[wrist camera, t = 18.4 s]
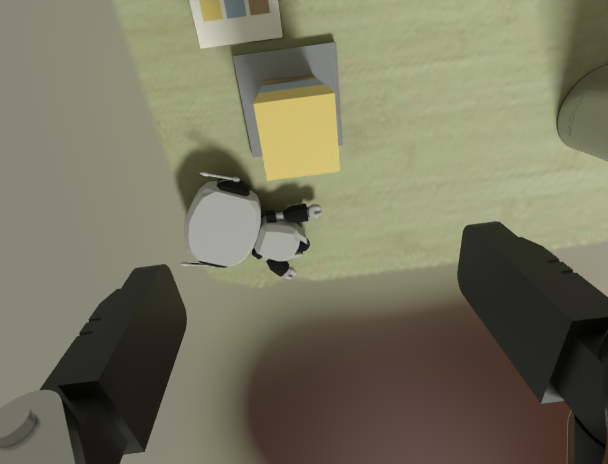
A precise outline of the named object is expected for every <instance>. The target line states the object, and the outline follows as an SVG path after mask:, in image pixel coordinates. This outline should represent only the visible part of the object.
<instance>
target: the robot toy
mask: <svg viewBox="0 0 608 464" xmlns="http://www.w3.org/2000/svg"><path fill="white" fill-rule="evenodd" d="M200 174H202V175H203V176H211V177H217V178H219V180H218V181H212V182H207V183H206V184H205V185H203V186H202V187H201V188H200V189H199V190H198V192H197V194H196V195H195V197H194V199H193V201H192V203H191V206H190V208H189V211H188V213H187V216H186V219H185V244H186V247H187V249H188V251H189V253H190V255H191V256H193V257H194V258H195V259H197V260H198V261H199V262H200V263H187V262H182V263H180V265H182V266H210V268H215V267H222V268H224V267H229V266H233V265H237V264H239V263H240V262H242V261H243V260H244V259H245V258H246V257H247V256H248V254H249V253H250V252H251V250H252V248H253V247H254V249H253V250H252V255H253V256H255V257H256V258H257V259H260V258H263V259H264V260H266V262H267V264H268V266H269V268H270V270H271V271H273V272H274V273H276V274H277V275H279V276H280V277H281V276H284V278H286V279H292V278H293V277H292V275H293V276H295V275H296V270H295V269H294V268H293V267H289V264H288V262H287V261H286V260H288V259H297V258H299V257H301V256H302V255H303V251H306V250H307V249H308V248H309V246H310V242H309V240H308V239H307V238H306V235H305V231H304V229H303V228H302V227H300V226H299V225H297V223H298V222H305V221H308V216H309V217H312V218H317V217H320V216H321V211H318V210H321V206H320V205H317V204H312V205H311V206H309V207H308V208H307V206H306V204H299V205H292V206H290V207H289V208H287V209H286V210H285V211H283V212H280V213H276V212H275V211H274V210H271V211H265V214H266V216H264V217H263V218H261V209H260V202H259V199H258V197H257V195H256V194H255V193H254V192H252V191H251V190H250V186H249V185H247V184H246V183H244V182H243V181H240V179H239V177H234V176H233V177H227V176H221V175H216V174H210V173H208V172H201V173H200ZM201 263H202V264H201ZM291 274H292V275H291Z"/></svg>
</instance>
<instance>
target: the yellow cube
mask: <svg viewBox="0 0 608 464" xmlns="http://www.w3.org/2000/svg"><path fill="white" fill-rule="evenodd" d="M254 110H255V116H256V121H257V127H258V132H259V138H260V143H261V149H262V155H263V160H264V166H265V171H266V177H267V181H269V180H277V179H285V178H292V177H300V176H308V175H316V174H323V173H331V172H339V171H340V165H339V149H338V134H337V119H336V103H335V93H334V92H333V91H332V90H331V89H330V88H329V87H328V86H327V85H326V84H324V85H316V86H308V87H301V88H293V89H286V90H278V91H270V92H263V93H258V95H257V97H256V99H255V101H254Z"/></svg>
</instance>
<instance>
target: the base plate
mask: <svg viewBox="0 0 608 464" xmlns="http://www.w3.org/2000/svg"><path fill="white" fill-rule="evenodd" d="M233 59H234V65H235V70H236V75H237V80H238V85H239V90H240V95H241V100H242V105H243V110H244V115H245V120H246V125H247V130H248V135H249V140H250V145H251V150H252V155H253V157H258V156H263V155H262V149H261V143H260V138H259V132H258V127H257V121H256V116H255V110H254V101H255V99H256V97H257V93H258V91H259V89H260V86H261V84H262V82H263V81H266V80H273V79H280V78H288V77H295V76H302V75H310V74H313V75H314V76H315V77H316V78H318V79H319V80H320V81H321V82H322V83H323V84H326V85H327V86H328V87H329V88H330V89H331V90H332V91H333V92H334V93H335V103H336V119H337V134H338V146H340V145H342V130H341V114H340V98H339V82H338V66H337V50H336V42H332V43H324V44H317V45H310V46H303V47H295V48H288V49H281V50H273V51H266V52H259V53H251V54H244V55H237V56H233Z"/></svg>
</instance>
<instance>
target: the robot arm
mask: <svg viewBox="0 0 608 464" xmlns="http://www.w3.org/2000/svg"><path fill="white" fill-rule="evenodd" d="M558 132H559V135H560V138H561V139H562V141H563V142H564V143H565V144H566V145H567V146H569V147H571V148H573V149H576V150H579V151H581V152H584V153H587V154H590V155H592V156H595V157H598V158H600V159H603V160H605V161H608V65H606V66H603V67H600V68H598V69H596V70H594V71H592V72H591V73H589V74H588V75H587V76H585V77H584V78H583V79H581V80H580V81H579V82H578V83H577V84H576V85H575V86H574V87H573V89H572V90H571V91H570V93H569V94H568V95H567V97H566V99H565V101H564V103H563V105H562V107H561V110H560V113H559V117H558ZM457 275H458V283H459V287H460V290H461V292H462V294H463V295H464V297H465V298H466V300H467V301H468V303H469V304H470V305H471V307H472V308H473V310H474V311H475V312H476V314H477V315H478V317H479V318H480V319H481V321H482V322H483V323H484V325H485V326H486V328H487V329H488V330H489V332H490V333H491V334H492V336H493V337H494V339H495V340H496V341H497V343H498V344H499V346H500V347H501V348H502V350H503V351H504V353H505V354H506V356H507V357H508V358H509V360H510V361H511V363H512V364H513V365H514V367H515V368H516V369H517V371H518V372H519V374H520V375H521V376H522V378H523V379H524V381H525V382H526V383H527V385H528V386H529V388H530V389H531V390H532V392H533V393H534V395H535V396H536V397H537V399H538V400H539V402H540V403H541V404H542V403H549V402H558V401H565V402H566V404H567V405H568V406H569V407H570V409H571V413H570V415H569V417H568V438H567V464H608V297H607V296H606V295H604V294H603V293H602V292H600V291H599V290H598V289H597V288H595V287H594V286H593V285H592V284H590V283H589V282H588V281H586V280H585V279H584V278H583V277H581V276H580V275H579V274H577V273H573V270H572V269H571V268H570V267H569V266H567V265H566V264H565V263H563V262H560V261H559V259H558V258H557V257H556V256H554V255H553V254H552V253H551V252H549V251H548V250H547V249H545V248H544V247H543V246H541V245H538V244H536V243H534V242H532V241H529V240H527V239H525V238H523V237H517V236H516V235H515V234H514V233H513V232H511V231H510V230H509V229H508V228H506V227H505V226H504V225H503V224H502V223H500V222H497V221H495V222H487V223H480V224H472V225H467V226H466V227H465V228H464V230H463V234H462V242H461V249H460V257H459V264H458V273H457ZM186 322H187V317H186V310H185V306H184V304H183V301H182V299H181V296H180V293H179V291H178V288H177V286H176V283H175V281H174V278H173V275H172V273H171V271H170V269H169V267H168V266H167V265H165V264H162V265H155V266H147V267H140V268H135V269H134V270H133V271H132V273H131V274H130V276H129V277H128V279H127V280H126V282H125V283H124V285H123V286H122V288H121V289H117V290H115V291H114V292H113V293H112V294H111V295H109V296H108V297H107V298H106V299H105V300H103V301H102V302H101V303H100V304H99V305H98V307H97V308H96V310H95V311H94V313H93V314H92V315H91V317H90V318H89V322H88V323H86V324H85V325H84V327H83V328H82V330H81V331H80V335H79V336H77V337H76V339H75V340H74V341H73V343H72V344H71V346H70V347H69V348H68V350H67V351H66V353H65V354H64V356H63V357H62V358H61V360H60V361H59V363H58V364H57V366H56V367H55V369H54V370H53V371H52V373H51V374H50V376H49V377H48V378H47V380H46V382H45V383H44V384H43V386H42V387H41V389H40V390H39V391H34V392H31V393H28V394H25V395H23V396H21V397H18V398H16V399H14V400H13V401H11V402H9V403H8V404H6V405H4V406H3V407H2V408H0V464H120V461H121V459H122V456H123V455H124V454H132V453H139V452H145V449H146V446H147V443H148V440H149V437H150V434H151V431H152V428H153V425H154V422H155V419H156V416H157V413H158V410H159V407H160V404H161V401H162V399H163V396H164V393H165V390H166V387H167V383H168V381H169V378H170V375H171V372H172V369H173V366H174V363H175V360H176V357H177V354H178V351H179V348H180V345H181V342H182V339H183V336H184V333H185V330H186V324H187V323H186Z"/></svg>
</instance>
